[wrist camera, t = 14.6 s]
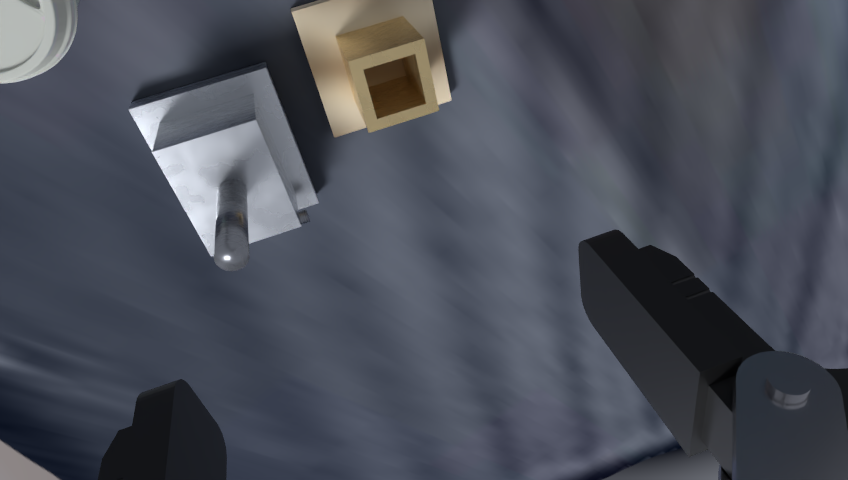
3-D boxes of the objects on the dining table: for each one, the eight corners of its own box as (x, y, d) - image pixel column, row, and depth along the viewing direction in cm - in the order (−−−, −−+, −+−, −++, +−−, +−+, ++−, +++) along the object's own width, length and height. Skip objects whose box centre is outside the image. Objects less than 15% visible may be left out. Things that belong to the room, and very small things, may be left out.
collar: (335, 36, 42) (348, 61, 37) (403, 15, 43) (424, 38, 38) (354, 101, 45) (369, 132, 41) (417, 82, 46) (439, 110, 41)
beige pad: (290, 8, 41) (291, 12, 41) (423, -31, 42) (426, -29, 41) (332, 132, 47) (334, 137, 47) (447, 95, 48) (451, 100, 47)
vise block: (131, 101, 42) (92, 202, 31) (265, 61, 43) (276, 144, 31) (203, 231, 49) (194, 351, 38) (316, 194, 50) (341, 301, 39)
